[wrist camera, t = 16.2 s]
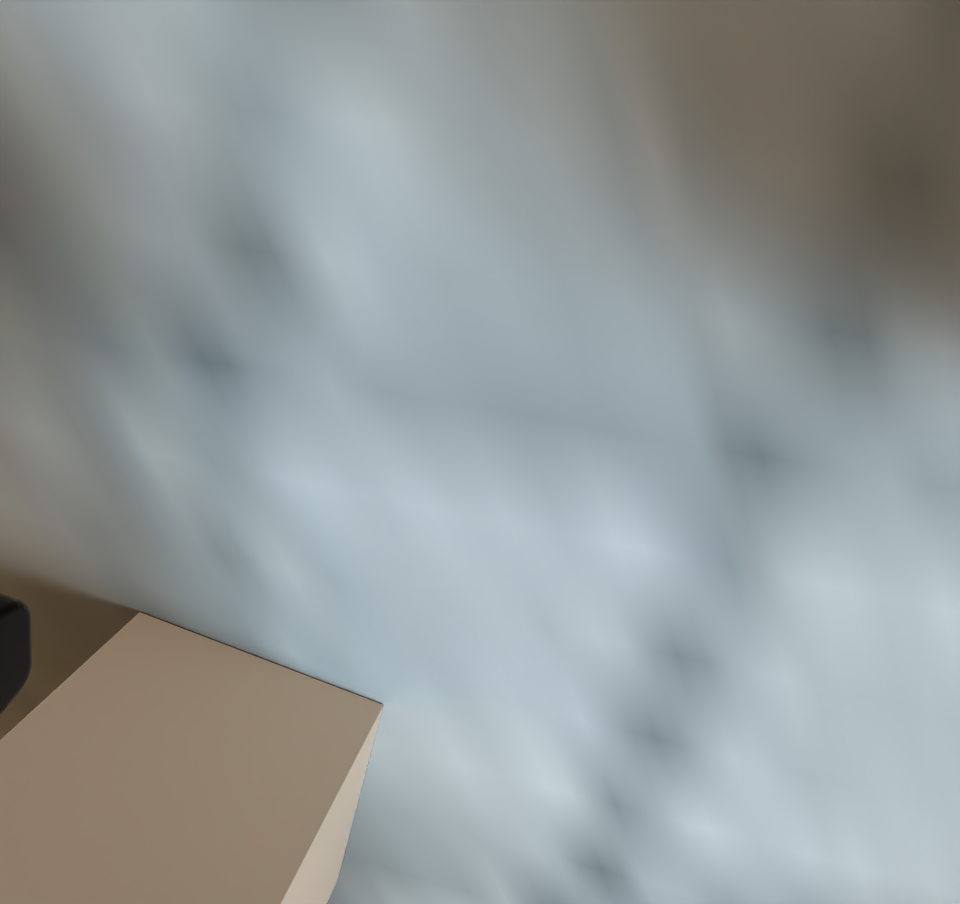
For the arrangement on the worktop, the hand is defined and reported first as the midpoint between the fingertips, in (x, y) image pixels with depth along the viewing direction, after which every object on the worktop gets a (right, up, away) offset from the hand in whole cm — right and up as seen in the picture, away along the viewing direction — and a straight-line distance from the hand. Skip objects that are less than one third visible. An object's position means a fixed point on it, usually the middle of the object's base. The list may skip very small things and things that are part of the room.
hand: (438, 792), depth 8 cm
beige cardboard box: (-7, -6, +18) cm, 20 cm away
